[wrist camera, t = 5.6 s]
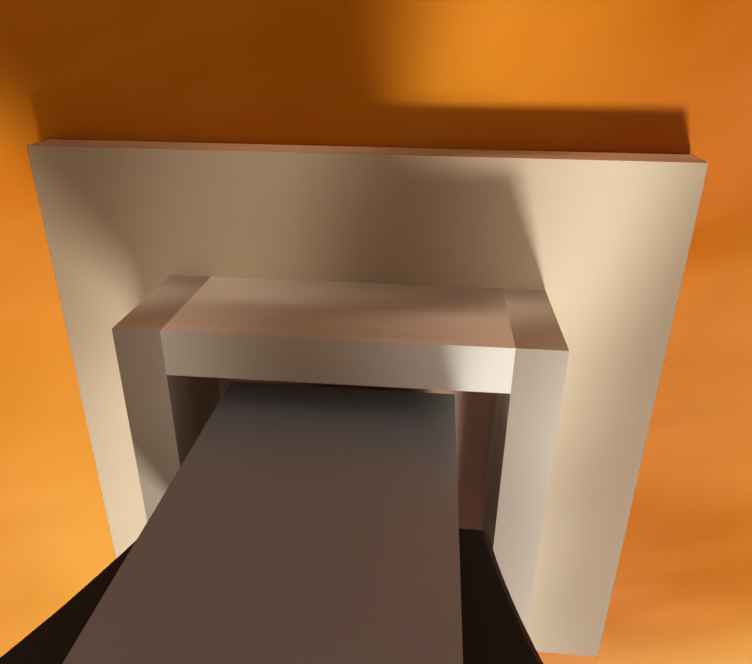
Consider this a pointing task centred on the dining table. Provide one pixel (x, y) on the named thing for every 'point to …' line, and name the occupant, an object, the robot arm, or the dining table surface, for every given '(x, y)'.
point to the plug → (297, 538)
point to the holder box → (386, 320)
